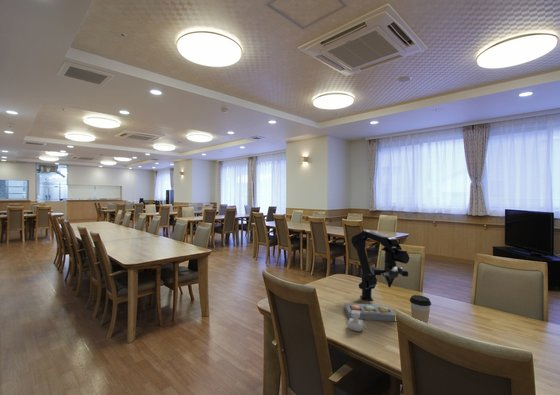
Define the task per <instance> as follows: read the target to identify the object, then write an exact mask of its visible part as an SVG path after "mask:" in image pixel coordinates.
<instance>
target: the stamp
mask: <svg viewBox="0 0 560 395" xmlns="http://www.w3.org/2000/svg"><path fill="white" fill-rule="evenodd" d="M351 317H353V318H350V319H349V318H348V319H349V320H348V321H346V322H345V325H347V326H346V327H347V328H348V329H349V330H350V331H355V332H361V331H362V330H363V329H365V328H366V324H364V319H358V318H359V317H360V311H356V310H352V313H351Z"/></svg>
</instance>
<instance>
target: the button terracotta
mask: <svg viewBox="0 0 560 395" xmlns="http://www.w3.org/2000/svg"><path fill="white" fill-rule="evenodd" d="M351 310H360V307H359V306H358V305H352V306H351Z"/></svg>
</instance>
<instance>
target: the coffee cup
mask: <svg viewBox="0 0 560 395" xmlns="http://www.w3.org/2000/svg"><path fill="white" fill-rule="evenodd" d="M408 301H409V302H410V309H411V311H410V312H411V318H412V317H413V318H415V319H418V320H420V321H423V322H425V323H427V324H428V322H429V318H430V310H431V306H432V302H431V300H430V298H429V297H427V296H424V295H421V294H414V295H411V297H409V300H408Z"/></svg>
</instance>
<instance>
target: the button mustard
mask: <svg viewBox="0 0 560 395" xmlns="http://www.w3.org/2000/svg"><path fill="white" fill-rule="evenodd" d="M380 312H389V308H387V307H383V306H382V307H380Z"/></svg>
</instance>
